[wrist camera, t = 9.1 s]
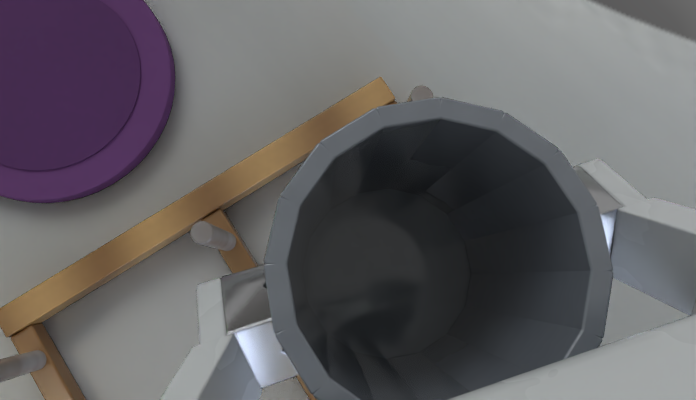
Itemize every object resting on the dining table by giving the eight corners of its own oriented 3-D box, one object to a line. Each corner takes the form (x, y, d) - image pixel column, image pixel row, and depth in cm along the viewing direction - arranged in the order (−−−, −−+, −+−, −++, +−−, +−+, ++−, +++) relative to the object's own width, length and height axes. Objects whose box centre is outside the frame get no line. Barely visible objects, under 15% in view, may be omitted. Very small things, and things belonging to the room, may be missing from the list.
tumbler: (357, 405, 17) (390, 525, 9) (256, 243, 18) (199, 213, 9) (512, 300, 18) (679, 320, 10) (411, 147, 19) (485, 38, 10)
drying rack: (178, 610, 23) (126, 724, 17) (7, 311, 25) (-94, 322, 19) (554, 349, 25) (624, 371, 19) (378, 84, 27) (393, 29, 21)
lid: (-36, 273, 25) (-50, 273, 24) (-154, 65, 26) (-171, 58, 25) (220, 120, 26) (217, 114, 25) (99, -73, 27) (91, -85, 26)
